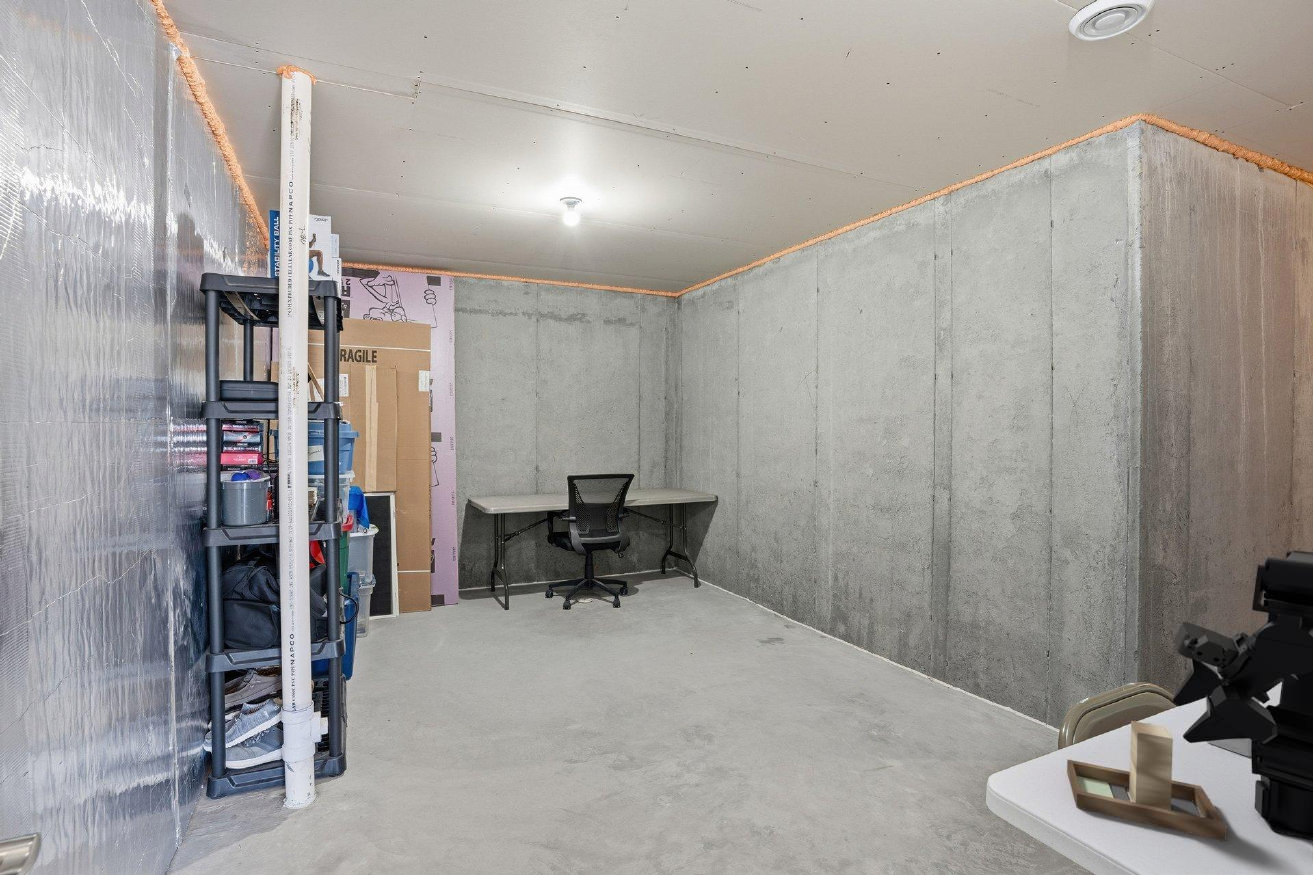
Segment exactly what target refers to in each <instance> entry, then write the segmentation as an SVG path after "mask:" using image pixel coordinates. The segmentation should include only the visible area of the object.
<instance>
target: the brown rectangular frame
mask: <svg viewBox="0 0 1313 875" xmlns="http://www.w3.org/2000/svg"><path fill="white" fill-rule="evenodd" d="M1066 762H1067V763H1066V772H1067V773H1066V774H1067V776H1068V781H1069V784H1070V788H1071V792H1072V794H1073V795H1072V796H1073V798H1074V802H1075V808H1078V809H1082V810H1086V811H1087V810H1088V811H1091V812H1094V813H1100V814H1104V815H1108V816H1113V817H1117V818H1122V819H1127V820H1131V821H1135V822H1139V823H1144V824H1147V825H1148V824H1149V825H1152V826H1156V827H1163V828H1167V829H1170V830H1176V831H1179V832H1183V833H1187V834H1192V835H1197V836H1201V837H1206V838H1211V839H1215V840H1219V841H1223V842H1226V840H1227V825H1226V824H1225V822H1224V820H1223V819H1222V817H1221V816H1220V814H1219V812H1218V810H1217V809H1216V807H1215V806H1214V804H1213V803H1212V802H1211V800H1210V798H1209V796H1208V794H1207V793H1206V792H1205V790H1204V788H1203V787H1202V786H1201V785H1199V784H1192V783H1187V782H1183V781H1177V780H1172V783H1171V796H1176V797H1181V798H1185V799H1190V800H1192V802H1193V803H1194V805H1195V807H1197V810H1198V812H1199V813H1200V815H1201V817H1199V816H1194V815H1190V814H1185V813H1180V812H1176V811H1172V810H1167V809H1162V808H1157V807H1153V806H1148V805H1143V804H1139V803H1134V802H1132V801H1130V800H1129V801H1125V800H1120V799H1116V798H1115V797H1114V798H1111V797H1106V796H1102V795H1097V794H1092V793H1088V792H1083V791H1081V789H1080V786H1079V783H1078V779H1077V776H1080V777H1085V778H1089V779H1094V780H1099V781H1104V782H1108V784H1109V785H1110V783H1113V784H1118V785H1123V786H1124V788H1128V789H1129V783H1130V771H1127V770H1122V769H1117V768H1112V767H1107V766H1103V765H1097V764H1092V763H1088V762H1084V761H1083V762H1082V761H1077V760H1072V759H1067V761H1066Z"/></svg>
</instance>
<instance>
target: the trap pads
mask: <svg viewBox="0 0 1313 875" xmlns="http://www.w3.org/2000/svg"><path fill="white" fill-rule="evenodd" d="M1109 786H1110V789H1111V792H1112V794H1113V797H1114V798H1116V799H1120V800H1125V801H1130V797H1128V796H1129V795H1128V794H1127V792H1126V789H1125V787H1124V786H1123V785H1118V784H1113V783H1110V784H1109ZM1196 807H1197V806H1196V804H1195V803H1194V801H1192V800H1190V799H1185V798H1181V797H1176V796H1171V811H1176V812H1180V813H1185V814H1190V815H1194V816H1199V817H1202V815H1201V813H1200V811H1199V810H1198V808H1196Z"/></svg>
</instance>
